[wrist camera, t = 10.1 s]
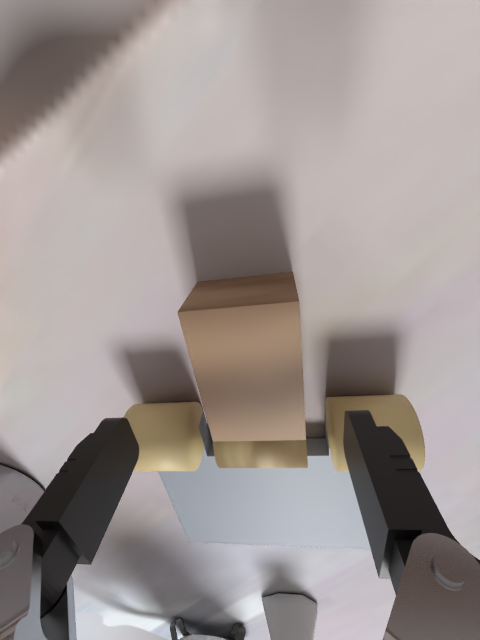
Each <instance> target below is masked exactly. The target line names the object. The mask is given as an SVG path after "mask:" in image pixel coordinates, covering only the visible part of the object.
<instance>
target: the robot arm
mask: <svg viewBox="0 0 480 640" xmlns="http://www.w3.org/2000/svg"><path fill="white" fill-rule="evenodd" d="M343 446H344V454H345V458H346V462H347V466H348V470H349V473H350V477H351V480H352V484H353V487H354V491H355V494H356V498H357V502H358V505H359V509H360V512H361V516H362V519H363V523H364V526H365V530H366V534H367V537H368V541H369V544H370V548H371V551H372V555H373V559H374V562H375V566H376V569H377V573H378V576H379V578H385V579H391V581H392V584H393V587H394V590H395V594H396V598H395V601H394V604H393V608H392V611H391V614H390V617H389V621H388V624H387V627H386V631H385V634H384V637H383V640H480V560H479V559H477V558H476V557H474V556H473V555H472V554H470V553H469V552H468V551H467V550H466V549H465V548H464V547H463V546H461V545H460V543H459V542H458V541H457V540H456V539H455V538H454V536H453V535H452V534H451V532H450V530H449V529H448V527H447V525H446V523H445V521H444V519H443V517H442V515H441V513H440V512H439V510H438V508H437V506H436V504H435V502H434V500H433V498H432V496H431V494H430V492H429V490H428V488H427V486H426V484H425V483H424V481H423V479H422V477H421V475H420V473H419V472H418V470H417V467H416V465H415V463H414V461H413V459H412V458H411V457H410V454H409V452H408V450H407V448H406V446H405V444H404V442H403V440H402V439H401V438H400V437H399V436H398V435H397V434H396V433H395V432H394V431H393V430H392V429H391V428H390V427H389V426H376V424H375V421H374V419H373V417H372V415H371V413H370V411H369V410H353V411H345V415H344V435H343ZM138 457H139V445H138V442H137V440H136V437H135V435H134V433H133V430H132V428H131V426H130V423H129V421H128V419H127V418H106V419H104V420H103V421H102V422H101V423H100V424H99V426H98V427H97V429H96V430H95V432H94V433H90V434H89V435H88V436H87V437H86V438H85V439H84V440H82V441H81V442H80V443H79V444H78V445H77V446H76V447H75V449H74V450H73V452H72V453H71V455H70V456H69V457H68V460H67V462H65V463H64V465H63V466H62V467H61V469H60V470H59V471H60V472H59V473H57V474H56V476H55V477H54V479H53V480H52V482H51V483H50V484H49V486H48V487H47V489H46V490H45V492H44V491H43V489H42V488H41V487H40V486H39V485H38V484H37V483H35V482H34V481H33V480H32V479H30V478H28V477H27V476H25V475H24V474H22V473H20V472H18V471H16V470H14V469H11V468H8V467H6V466H2V465H0V640H77V639H76V623H75V605H74V587H73V578H72V576H71V574H72V572H73V570H74V568H75V566H76V564H90V565H91V563H92V561H93V559H94V556H95V554H96V552H97V550H98V548H99V545H100V543H101V541H102V539H103V537H104V534H105V532H106V530H107V528H108V525H109V523H110V521H111V519H112V517H113V514H114V512H115V510H116V508H117V506H118V503H119V501H120V499H121V497H122V494H123V492H124V490H125V488H126V486H127V483H128V481H129V479H130V477H131V475H132V472H133V470H134V468H135V466H136V463H137V461H138Z"/></svg>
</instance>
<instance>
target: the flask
mask: <svg viewBox="0 0 480 640" xmlns="http://www.w3.org/2000/svg"><path fill="white" fill-rule="evenodd" d="M262 602H263V606H264V611H265V615H266V620H267V624H268V628H269V633H270V637H271V640H313V639H314V633H315V626H316V620H317V604H316V603H315V602H313V601H312V600H310V599H308V598H307V597H305V596H303V595H295V594H281V593H278V594H275V595H271V596H267V597H264V598H262Z"/></svg>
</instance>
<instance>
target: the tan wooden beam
mask: <svg viewBox="0 0 480 640" xmlns="http://www.w3.org/2000/svg"><path fill="white" fill-rule="evenodd" d="M178 316H179V319H180V323H181V327H182V330H183V334H184V338H185V341H186V345H187V349H188V352H189V356H190V360H191V363H192V367H193V370H194V374H195V378H196V381H197V385H198V389H199V392H200V396H201V400H202V403H203V407H204V411H205V414H206V418H207V422H208V425H209V429H210V432H211V436H212V440H213V449H214V456H215V461H216V464H217V466H218V467H219V468H308V458H307V445H306V428H305V408H304V389H303V369H302V350H301V330H300V311H299V299H298V294H297V290H296V285H295V280H294V276H293V272H289V273H280V274H270V275H261V276H251V277H242V278H232V279H223V280H214V281H204V282H197V284H196V285H195V287H194V288H193V290H192V291H191V293H190V294H189V296H188V297H187V299H186V300H185V302H184V303H183V305H182V306H181V308H180V309H179V311H178Z"/></svg>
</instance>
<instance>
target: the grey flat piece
mask: <svg viewBox="0 0 480 640" xmlns="http://www.w3.org/2000/svg"><path fill="white" fill-rule="evenodd" d="M353 410H369V411H370V413H371V415H372V417H373V419H374V421H375V424H376V426H389V427H390V428H391V429H392V430H393V431H394V432H395V433H396V434H397V435H398V436H399V437H400V438H401V439H402V440H403V442H404V444H405V446H406V448H407V450H408V452H409V454H410V457H411V458H412V459H413V461H414V463H415V465H416V467H417V470H418V472H420V471H421V470H422V468H423V466H424V462H425V445H424V438H423V433H422V429H421V425H420V422H419V419H418V417H417V414H416V412H415V410H414V408H413V406H412V404H411V403H410V401H409V400H408V399H407V398H406V397H405V396H403V395H372V396H344V397H327V398H326V403H325V438H306V445H307V458H308V468H219V467H218V466H217V464H216V461H215V456H214V449H213V440H211V438H210V435H209V431H208V427H207V424H206V420H205V416H204V413H203V409H202V407H201V405H200V403H198V402H178V403H150V404H135V405H133V406H132V407H130V408H129V410H128V411H127V412H126V414H125V416H124V417H123V418H127V419H128V421H129V423H130V426H131V428H132V430H133V433H134V435H135V437H136V440H137V442H138V445H139V457H138V461H137V463H136V466H135V468H134V470H133V471H158V472H159V474H160V476H161V479H162V481H163V483H164V486H165V488H166V490H167V493H168V495H169V497H170V500H171V502H172V504H173V507H174V509H175V511H176V514H177V516H178V518H179V520H180V523H181V525H182V527H183V530H184V532H185V534H186V537H187V539H188V541H189V542H199V543H223V544H246V545H269V546H292V547H316V548H339V549H362V550H371V548H370V544H369V541H368V537H367V534H366V530H365V526H364V523H363V519H362V516H361V512H360V509H359V505H358V502H357V498H356V494H355V491H354V487H353V484H352V480H351V477H350V473H349V470H348V466H347V462H346V458H345V454H344V446H343V435H344V415H345V411H353Z"/></svg>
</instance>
